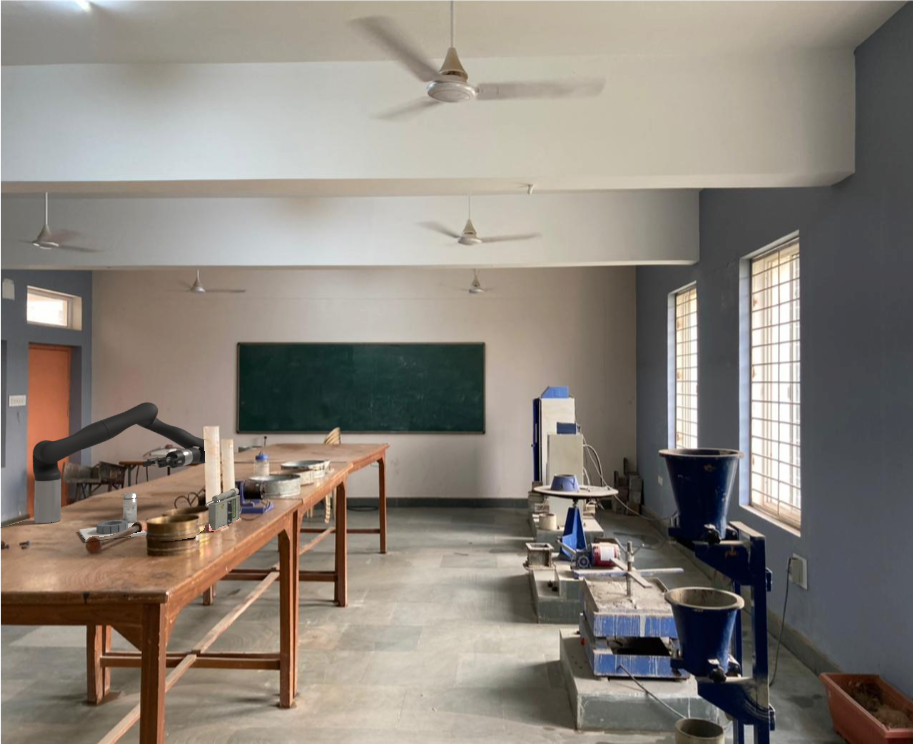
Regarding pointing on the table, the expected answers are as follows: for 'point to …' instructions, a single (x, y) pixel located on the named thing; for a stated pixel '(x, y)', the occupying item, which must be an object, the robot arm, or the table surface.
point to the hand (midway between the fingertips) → (151, 465)
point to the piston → (130, 507)
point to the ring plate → (93, 532)
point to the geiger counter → (224, 509)
